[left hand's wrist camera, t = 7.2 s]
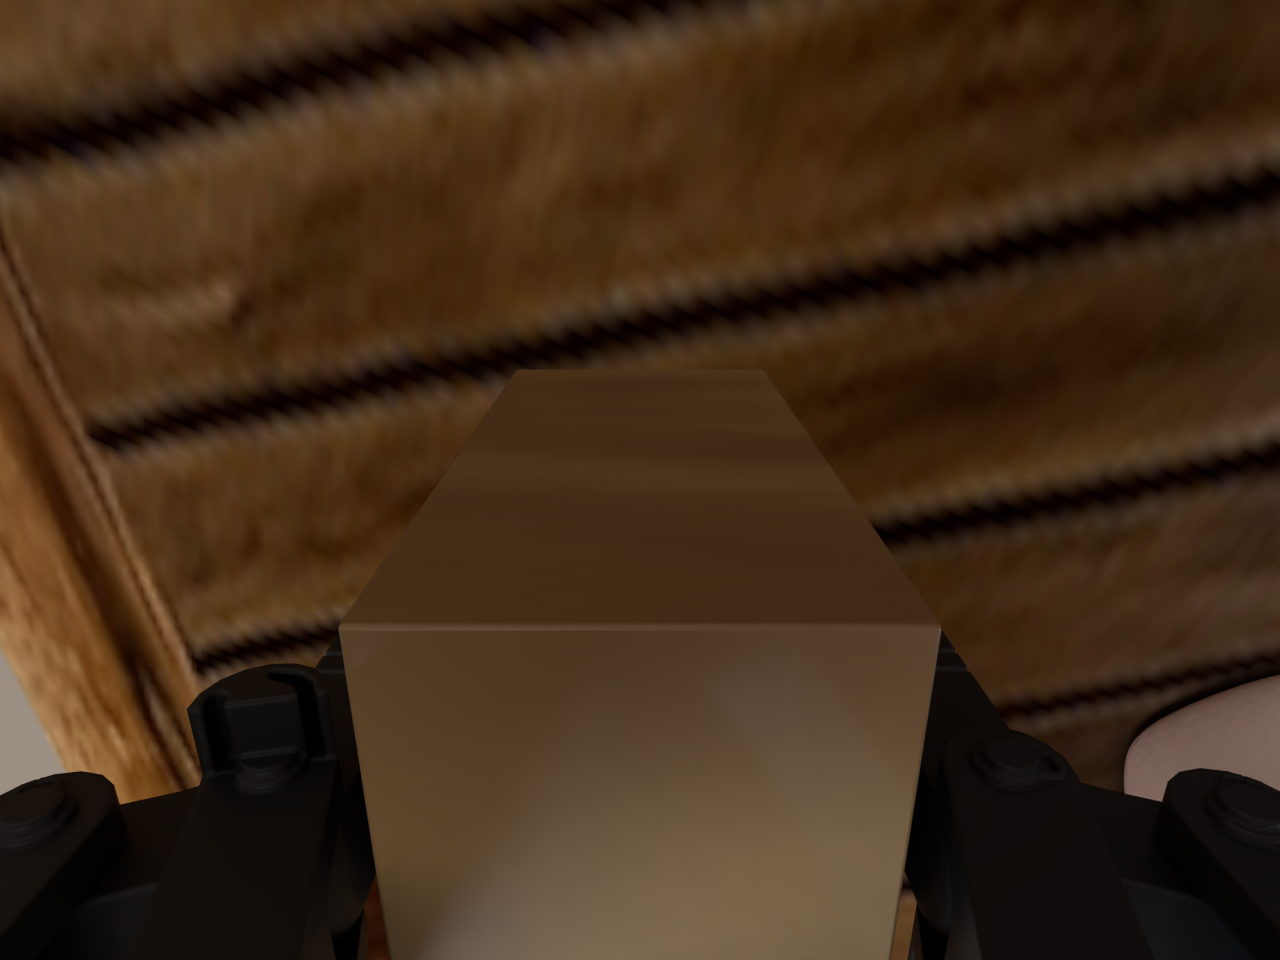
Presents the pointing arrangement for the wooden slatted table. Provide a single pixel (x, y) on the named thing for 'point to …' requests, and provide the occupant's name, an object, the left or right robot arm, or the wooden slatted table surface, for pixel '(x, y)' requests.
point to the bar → (640, 686)
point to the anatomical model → (1211, 740)
